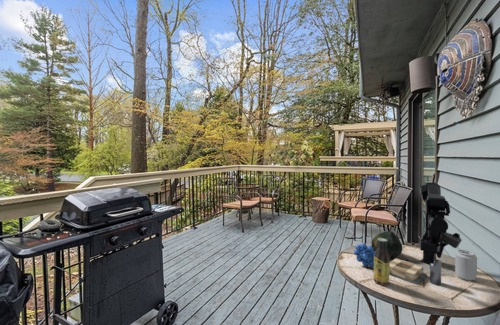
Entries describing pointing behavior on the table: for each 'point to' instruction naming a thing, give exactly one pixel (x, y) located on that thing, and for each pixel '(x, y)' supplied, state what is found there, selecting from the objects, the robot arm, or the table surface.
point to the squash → (389, 243)
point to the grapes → (365, 254)
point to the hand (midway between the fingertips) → (435, 260)
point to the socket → (406, 271)
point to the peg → (435, 272)
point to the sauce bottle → (381, 263)
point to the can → (466, 265)
